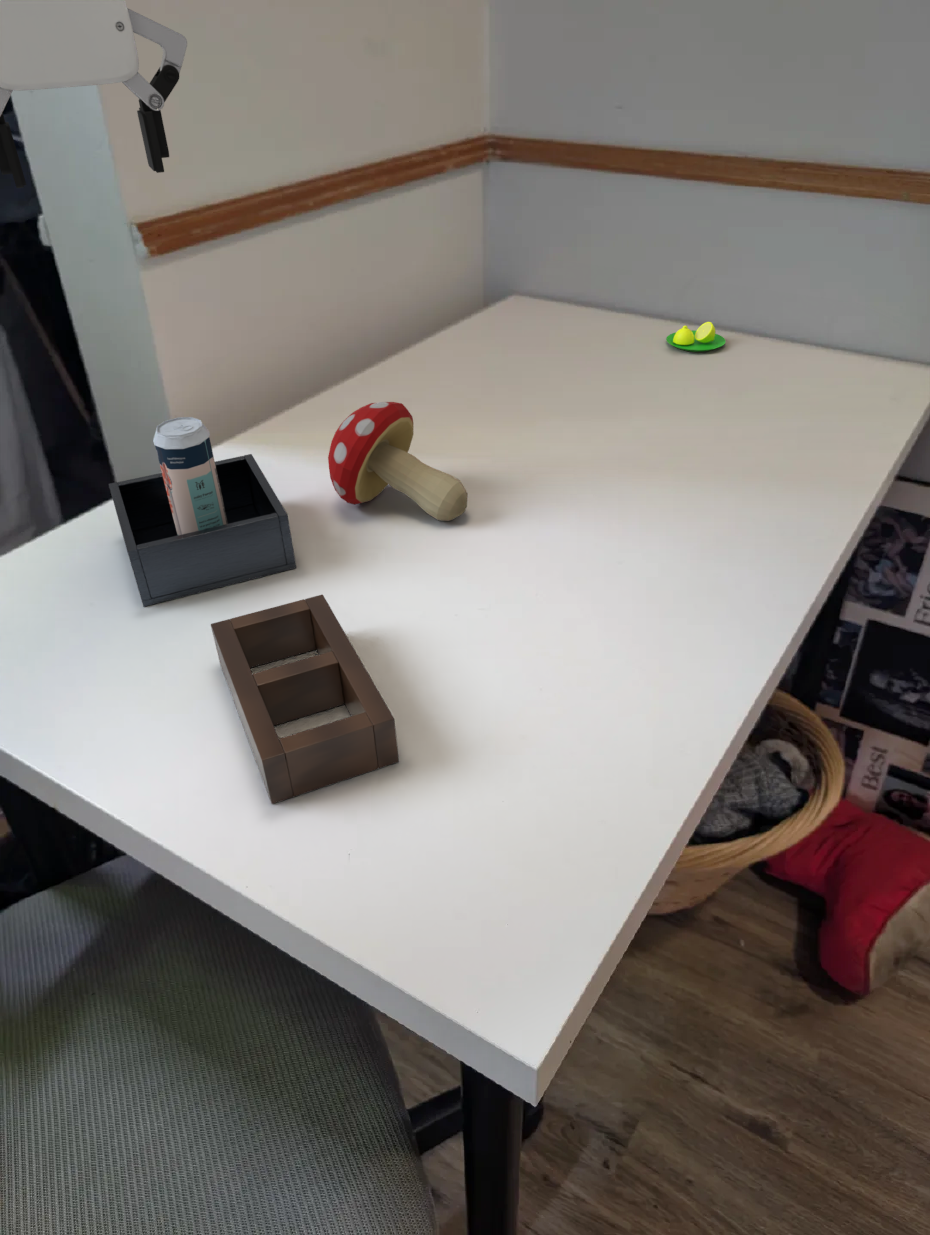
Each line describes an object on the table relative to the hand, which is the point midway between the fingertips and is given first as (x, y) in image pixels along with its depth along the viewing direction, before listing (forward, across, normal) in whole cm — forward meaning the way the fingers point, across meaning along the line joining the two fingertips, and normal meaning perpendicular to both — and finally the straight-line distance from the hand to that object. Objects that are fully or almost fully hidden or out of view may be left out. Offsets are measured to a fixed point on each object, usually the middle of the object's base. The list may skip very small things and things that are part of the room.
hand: (90, 177), depth 68 cm
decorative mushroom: (+32, -22, +1) cm, 39 cm away
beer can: (+32, -2, +1) cm, 32 cm away
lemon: (+32, -74, -23) cm, 84 cm away
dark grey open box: (+32, -2, +1) cm, 32 cm away
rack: (+32, -4, +27) cm, 42 cm away
